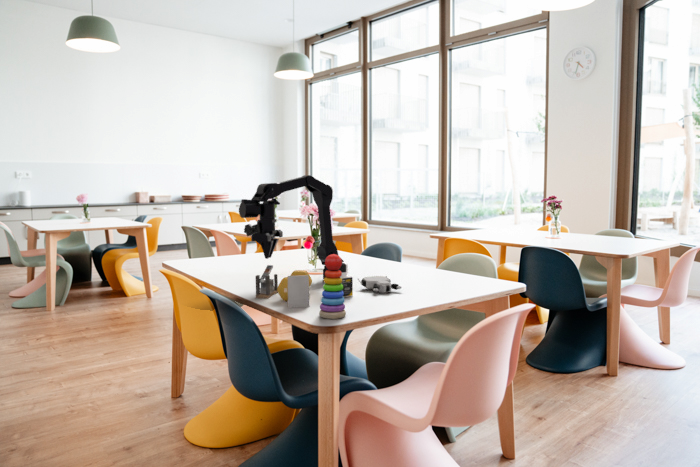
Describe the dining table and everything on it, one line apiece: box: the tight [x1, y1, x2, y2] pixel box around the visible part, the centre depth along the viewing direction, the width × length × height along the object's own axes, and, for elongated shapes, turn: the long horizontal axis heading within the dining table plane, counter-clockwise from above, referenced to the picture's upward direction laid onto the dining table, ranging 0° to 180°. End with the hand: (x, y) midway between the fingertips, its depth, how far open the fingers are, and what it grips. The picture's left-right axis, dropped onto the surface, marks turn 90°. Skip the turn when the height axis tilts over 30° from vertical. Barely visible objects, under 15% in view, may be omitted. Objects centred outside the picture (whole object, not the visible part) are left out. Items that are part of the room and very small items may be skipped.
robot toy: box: [357, 275, 402, 294], centre depth 193 cm, size 12×4×15 cm
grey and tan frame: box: [255, 273, 279, 299], centre depth 185 cm, size 11×5×8 cm, turn 170°
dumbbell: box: [277, 269, 313, 302], centre depth 184 cm, size 19×9×8 cm, turn 172°
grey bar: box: [259, 264, 274, 284], centre depth 185 cm, size 10×2×1 cm, turn 170°
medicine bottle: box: [339, 261, 354, 298], centre depth 184 cm, size 7×7×12 cm
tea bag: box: [287, 274, 311, 309], centre depth 168 cm, size 4×7×10 cm, turn 100°
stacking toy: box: [318, 254, 347, 320], centre depth 154 cm, size 8×8×19 cm
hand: (268, 258), depth 195 cm, fingers open, 3 cm apart
